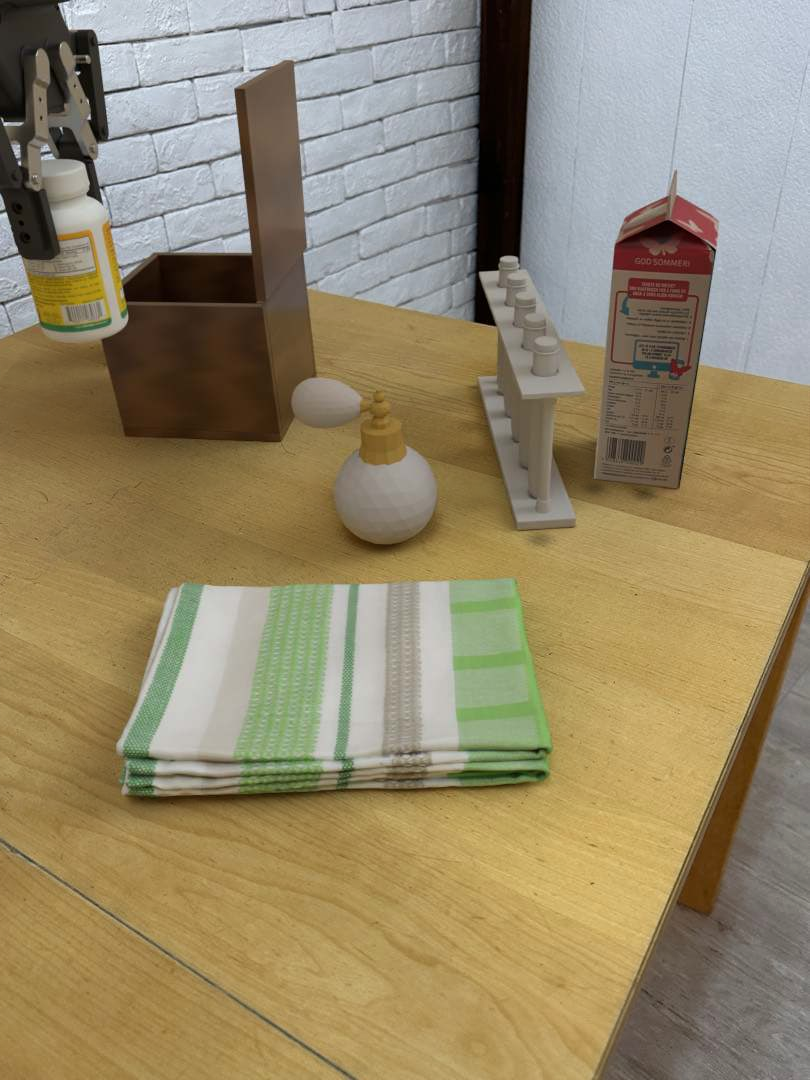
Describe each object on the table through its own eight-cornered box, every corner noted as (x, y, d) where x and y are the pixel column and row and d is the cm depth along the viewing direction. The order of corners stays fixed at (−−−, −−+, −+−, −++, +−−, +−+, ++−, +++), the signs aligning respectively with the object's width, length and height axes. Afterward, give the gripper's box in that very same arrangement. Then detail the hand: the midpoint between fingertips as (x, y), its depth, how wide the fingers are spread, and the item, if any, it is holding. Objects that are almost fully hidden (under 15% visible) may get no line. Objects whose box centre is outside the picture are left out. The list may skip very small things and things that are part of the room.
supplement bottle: (89, 350, 54) (47, 183, 48) (23, 336, 56) (-24, 174, 50) (148, 318, 58) (116, 159, 52) (84, 306, 60) (47, 152, 54)
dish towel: (176, 604, 61) (166, 563, 59) (515, 587, 61) (516, 545, 59) (116, 812, 47) (100, 767, 45) (556, 791, 47) (559, 744, 45)
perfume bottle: (446, 555, 65) (442, 404, 58) (310, 570, 64) (290, 419, 57) (430, 500, 71) (425, 356, 64) (306, 513, 70) (287, 369, 63)
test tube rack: (477, 384, 87) (478, 246, 80) (523, 381, 87) (528, 244, 80) (516, 530, 67) (522, 364, 59) (575, 527, 67) (589, 360, 59)
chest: (124, 435, 82) (91, 304, 75) (178, 372, 93) (153, 252, 86) (280, 442, 80) (262, 307, 72) (316, 375, 90) (303, 252, 83)
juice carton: (593, 478, 72) (619, 193, 60) (604, 439, 77) (629, 168, 65) (679, 488, 70) (724, 196, 58) (684, 447, 76) (726, 171, 63)
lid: (233, 88, 63) (244, 88, 63) (284, 59, 74) (293, 60, 74) (256, 301, 72) (266, 301, 72) (298, 247, 83) (307, 248, 83)
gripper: (-12, -108, 50) (64, 206, 60) (-192, -106, 39) (-62, 281, 49) (114, -113, 49) (170, 208, 59) (-32, -112, 38) (68, 286, 47)
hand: (65, 239), depth 54 cm, fingers closed on supplement bottle, 5 cm apart
